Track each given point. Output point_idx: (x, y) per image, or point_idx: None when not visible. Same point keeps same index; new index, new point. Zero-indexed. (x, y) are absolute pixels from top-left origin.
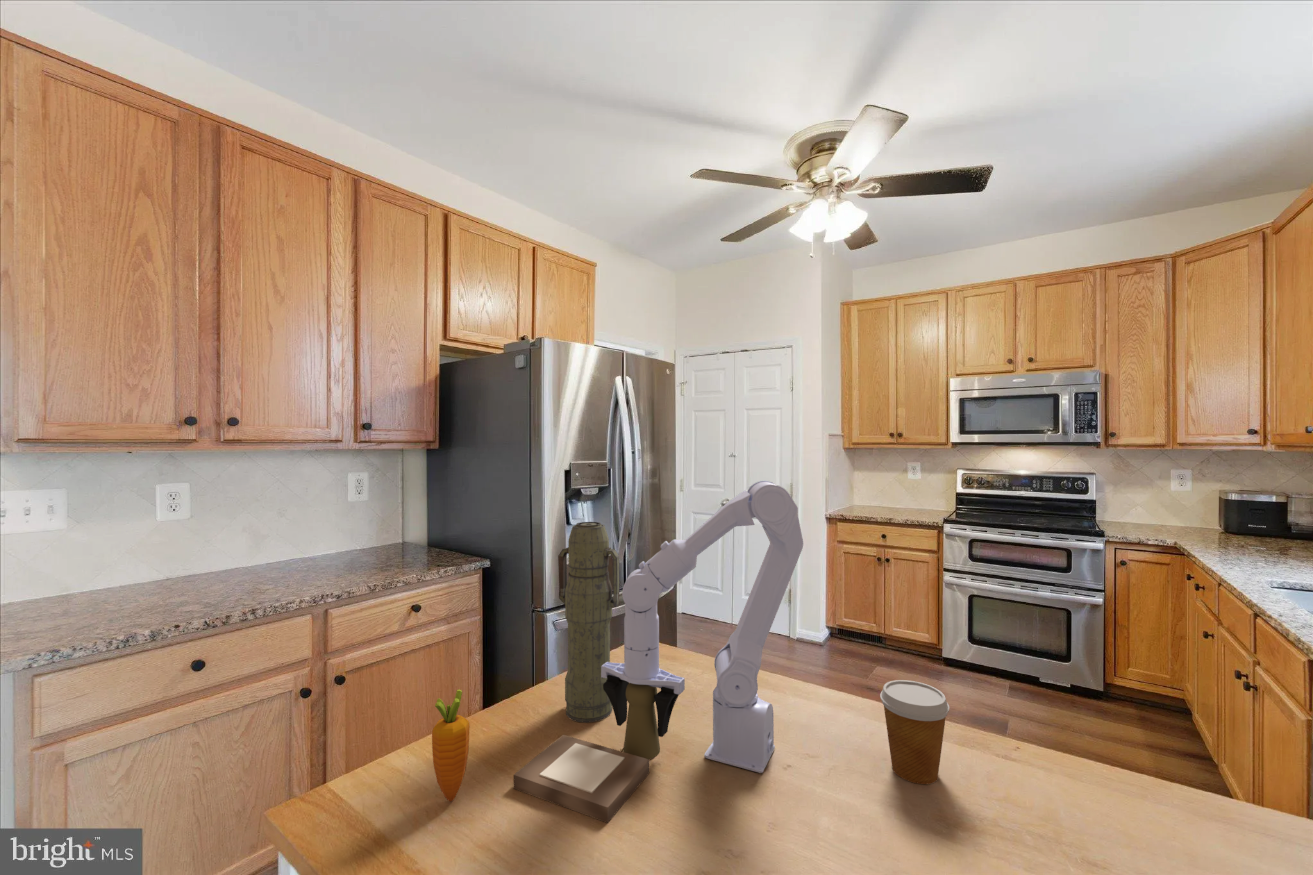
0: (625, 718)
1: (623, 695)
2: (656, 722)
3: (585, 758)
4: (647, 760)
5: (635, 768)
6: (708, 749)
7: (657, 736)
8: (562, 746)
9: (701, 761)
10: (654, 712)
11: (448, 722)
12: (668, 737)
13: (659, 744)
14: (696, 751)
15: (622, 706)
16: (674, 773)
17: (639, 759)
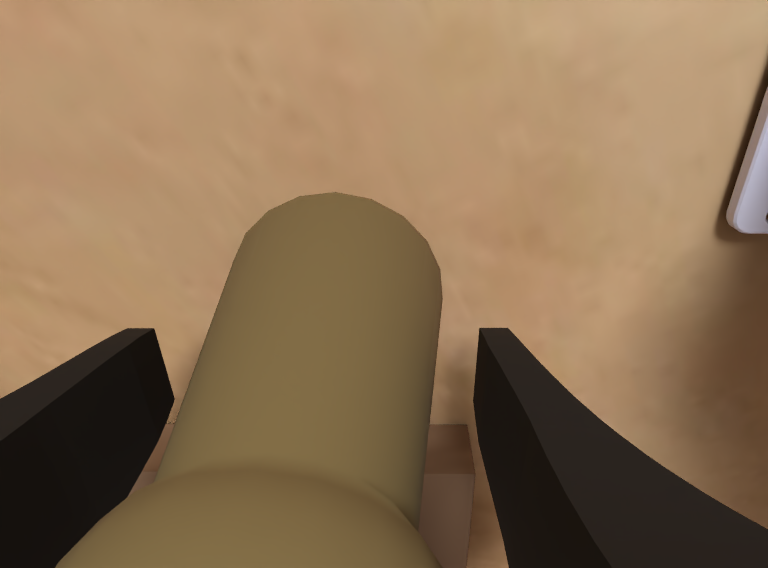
0: (148, 351)
1: (15, 529)
2: (418, 355)
3: None
4: (468, 480)
5: (443, 534)
6: (760, 162)
7: (434, 325)
8: None
9: (704, 251)
10: (421, 459)
11: None
12: (422, 99)
13: (427, 259)
14: (658, 170)
15: (93, 464)
16: (579, 386)
17: (429, 489)
